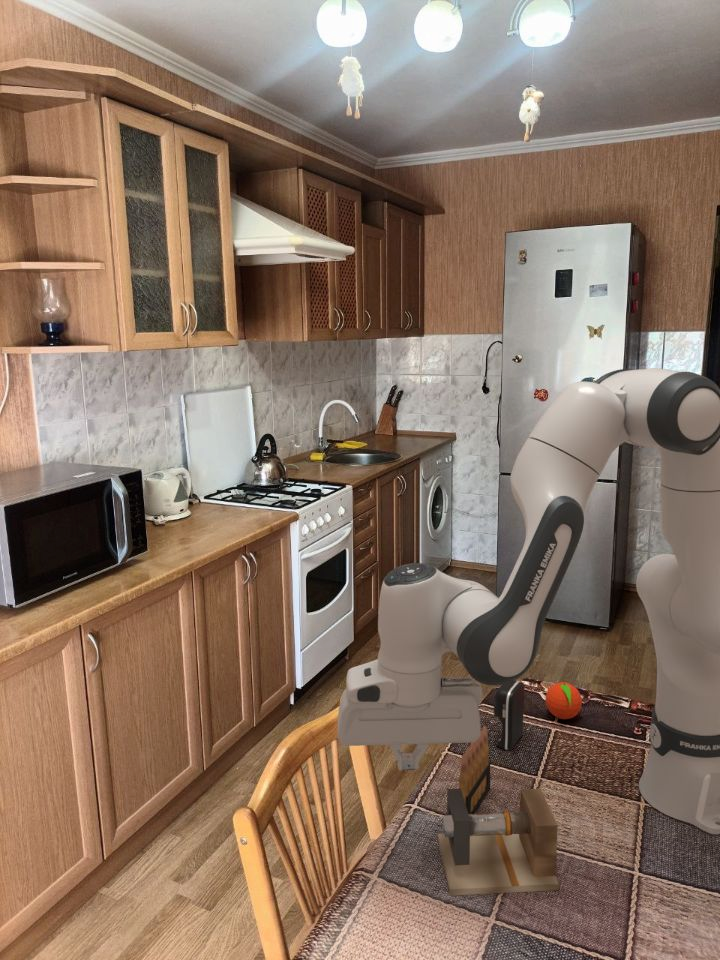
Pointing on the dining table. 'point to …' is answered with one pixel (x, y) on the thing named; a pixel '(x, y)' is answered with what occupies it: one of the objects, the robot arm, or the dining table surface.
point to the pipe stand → (508, 856)
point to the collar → (459, 827)
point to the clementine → (563, 700)
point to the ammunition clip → (475, 773)
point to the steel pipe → (492, 824)
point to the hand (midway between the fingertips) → (407, 767)
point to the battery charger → (510, 713)
